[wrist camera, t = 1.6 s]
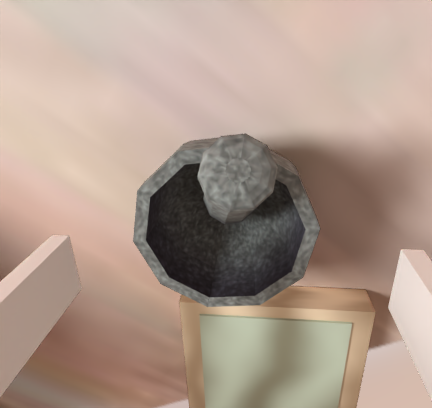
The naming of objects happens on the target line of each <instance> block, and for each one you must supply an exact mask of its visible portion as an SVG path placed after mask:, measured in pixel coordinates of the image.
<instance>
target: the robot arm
mask: <svg viewBox="0 0 432 408" xmlns="http://www.w3.org/2000/svg"><path fill="white" fill-rule="evenodd" d="M81 289H82V288H81V283H80V279H79V275H78V271H77V267H76V262H75V258H74V254H73V250H72V246H71V241H70V237H69V236H63V235H52V236H51V237H49V238H48V239H47V240H46V241H45V242H44V243H43V244H42V245H41V246H39V247H38V248H37V249H36V250H35V251H34V252H33V253H32V254H31V255H29V256H28V257H27V258H26V259H25V260H24V261H23V262H22V263H20V264H19V265H18V266H17V267H16V268H15V269H14V270H13V271H12V272H10V273H9V274H8V275H7V276H6V277H5V278H4V279H3V280H1V281H0V397H1V396H2V394H3V393H4V392H5V390H6V389H7V388H8V386H9V385H10V384H11V382H12V381H13V380H14V378H15V377H16V376H17V374H18V373H19V372H20V370H21V369H22V368H23V366H24V365H25V364H26V362H27V361H28V360H29V358H30V357H31V356H32V354H33V353H34V352H35V350H36V349H37V348H38V346H39V345H40V344H41V343H42V341H43V340H44V339H45V337H46V336H47V335H48V333H49V332H50V331H51V329H52V328H53V327H54V325H55V324H56V323H57V321H58V320H59V319H60V317H61V316H62V315H63V313H64V312H65V311H66V309H67V308H68V307H69V305H70V304H71V303H72V301H73V300H74V299H75V297H76V296H77V295H78V293H79V292H80V291H81ZM388 308H389V311H390V313H391V315H392V317H393V319H394V321H395V323H396V326H397V328H398V330H399V332H400V334H401V336H402V339H403V341H404V343H405V345H406V347H407V349H408V351H409V354H410V356H411V358H412V360H413V362H414V365H415V367H416V369H417V371H418V373H419V375H420V377H421V380H422V382H423V384H424V386H425V388H426V390H427V393H428V394H429V397H430V399H431V401H432V261H431V259H430V258H429V257H428V255H427V254H426V253H425V252H424V250H413V249H401V252H400V256H399V261H398V265H397V270H396V274H395V279H394V283H393V288H392V292H391V297H390V301H389V306H388Z"/></svg>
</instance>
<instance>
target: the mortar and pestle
mask: <svg viewBox="0 0 432 408" xmlns="http://www.w3.org/2000/svg"><path fill="white" fill-rule="evenodd" d="M319 231H320V226H319V223H318V220H317V217H316V215H315V212H314V210H313V207H312V205H311V203H310V200H309V198H308V195H307V193H306V190H305V188H304V186H303V183H302V181H301V178H300V176H299V173H298V171H297V169H296V167H295V166H294V165H293V164H292V163H291V162H290V161H289V160H287V159H285V158H284V157H282V156H280V155H278V154H277V153H275V152H273V151H271V150H269V148H268V146H267V145H265V144H263V143H262V142H260V141H258V140H256V139H254V138H253V137H251V136H249V135H247V134H238V135H228V136H221V137H220V138H212V139H203V140H194V141H189V142H187V143H185V144H183V145H182V146H181V147H180V148H179V149H178V150H177V151H176V152H175V153H174V154H173V155H172V156H171V157H170V158H169V159H168V160H167V161H166V162H165V163H164V164H163V165H161V166H160V167H159V168H158V169H157V170H156V171H155V172H154V173H153V174H152V175H151V176H150V177H149V178H148V179H147V180H146V181H145V182H144V183H143V185H142V186H141V187H140V188H139V189H138V191H137V202H136V214H135V226H134V238H133V242H134V243H135V245H136V246H137V248H138V249H139V251H140V253H141V254H142V256H143V257H144V259H145V260H146V262H147V263H148V265H149V267H150V268H151V270H152V271H153V273H154V274H155V276H156V277H157V279H158V281H159V282H160V284H162V285H164V286H166V287H168V288H170V289H172V290H174V291H176V292H178V293H180V294H182V295H184V296H186V297H188V298H190V299H192V300H194V301H196V302H198V303H200V304H202V305H204V306H206V307H222V306H251V305H261V304H263V303H264V302H266V301H267V300H269V299H270V298H272V297H273V296H275V295H277V294H278V293H280V292H281V291H283V290H284V289H286V288H287V287H289V286H290V285H292V284H294V283H295V282H297V281H298V280H300V279H301V278H303V276H304V274H305V271H306V268H307V265H308V262H309V259H310V257H311V254H312V251H313V248H314V245H315V242H316V240H317V237H318V234H319Z"/></svg>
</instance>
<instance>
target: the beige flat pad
mask: <svg viewBox="0 0 432 408" xmlns="http://www.w3.org/2000/svg"><path fill="white" fill-rule="evenodd" d="M179 305H180V315H181V326H182V336H183V347H184V358H185V368H186V379H187V389H188V400H189V408H356V406H357V401H358V396H359V391H360V386H361V381H362V377H363V372H364V367H365V362H366V357H367V352H368V347H369V342H370V338H371V333H372V328H373V323H374V318H375V313H376V312H375V310H374V307H373V305H372V303H371V300H370V298H369V296H368V294H367V291H366V290H365V289H343V288H321V287H298V286H289V287H287V288H286V289H284V290H283V291H281V292H280V293H278V294H277V295H275V296H273V297H272V298H270V299H269V300H267V301H266V302H264V303H263V304H261V305H251V306H222V307H206V306H204V305H202V304H200V303H198V302H196V301H194V300H192V299H190V298H188V297H186V296H184V295H181V298H180V301H179Z"/></svg>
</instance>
